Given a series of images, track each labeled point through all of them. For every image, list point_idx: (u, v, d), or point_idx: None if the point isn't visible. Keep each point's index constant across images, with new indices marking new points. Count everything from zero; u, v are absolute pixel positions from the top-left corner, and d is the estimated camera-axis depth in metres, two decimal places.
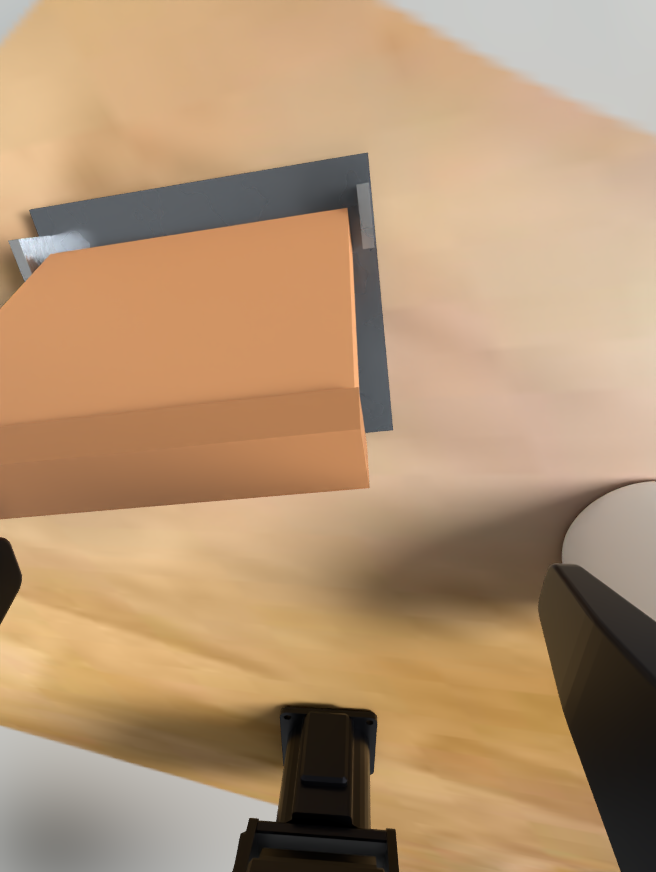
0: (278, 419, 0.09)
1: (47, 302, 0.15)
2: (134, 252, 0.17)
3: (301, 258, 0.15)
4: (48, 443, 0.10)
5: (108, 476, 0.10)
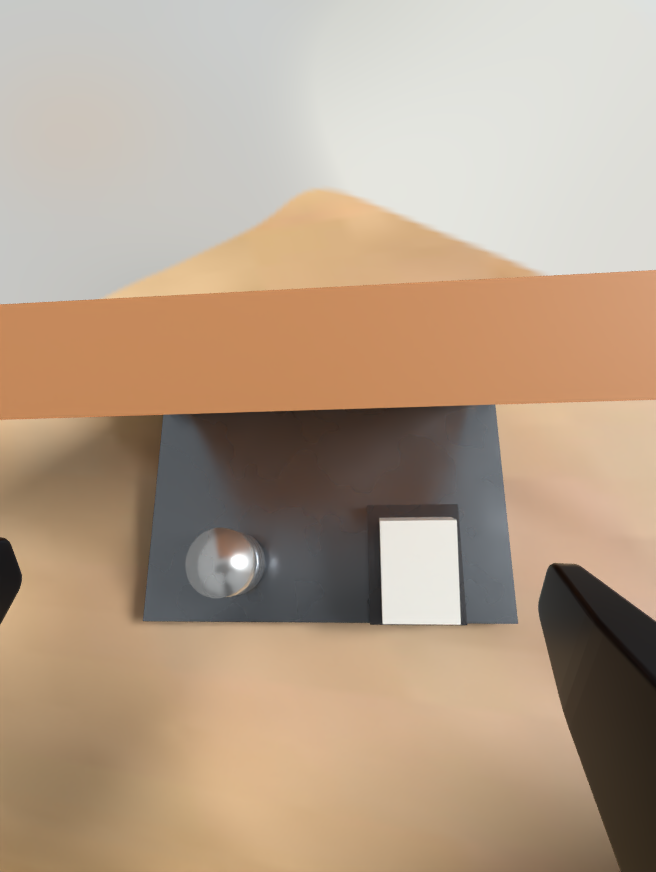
0: None
1: None
2: None
3: None
4: None
5: (279, 334, 0.07)
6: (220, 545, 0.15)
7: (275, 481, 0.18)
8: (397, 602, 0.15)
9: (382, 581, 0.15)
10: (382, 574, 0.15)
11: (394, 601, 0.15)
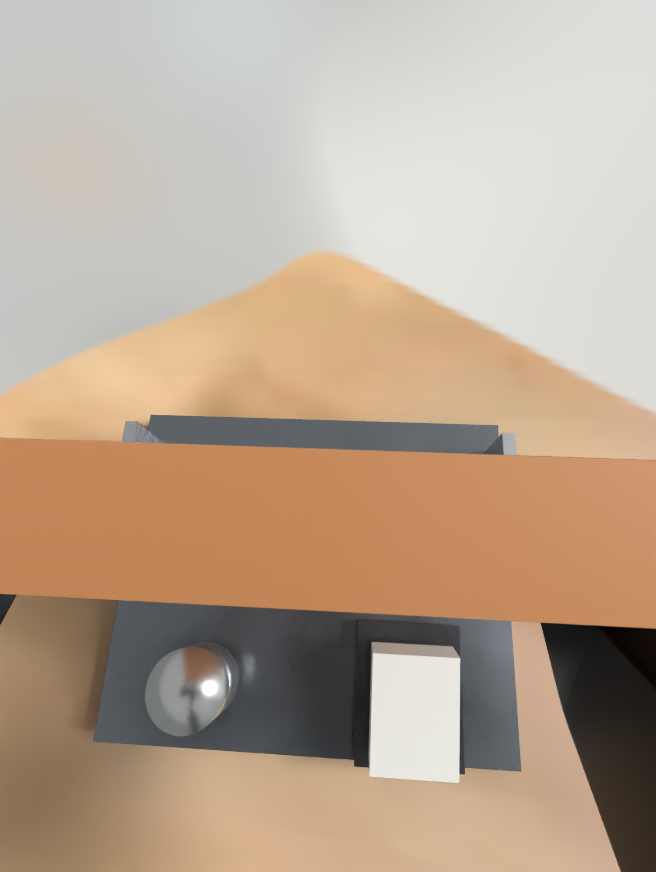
0: (597, 458, 0.06)
1: None
2: None
3: None
4: (188, 444, 0.06)
5: (274, 505, 0.05)
6: (188, 670, 0.13)
7: None
8: (387, 751, 0.13)
9: (372, 725, 0.13)
10: (372, 717, 0.13)
11: (384, 750, 0.13)
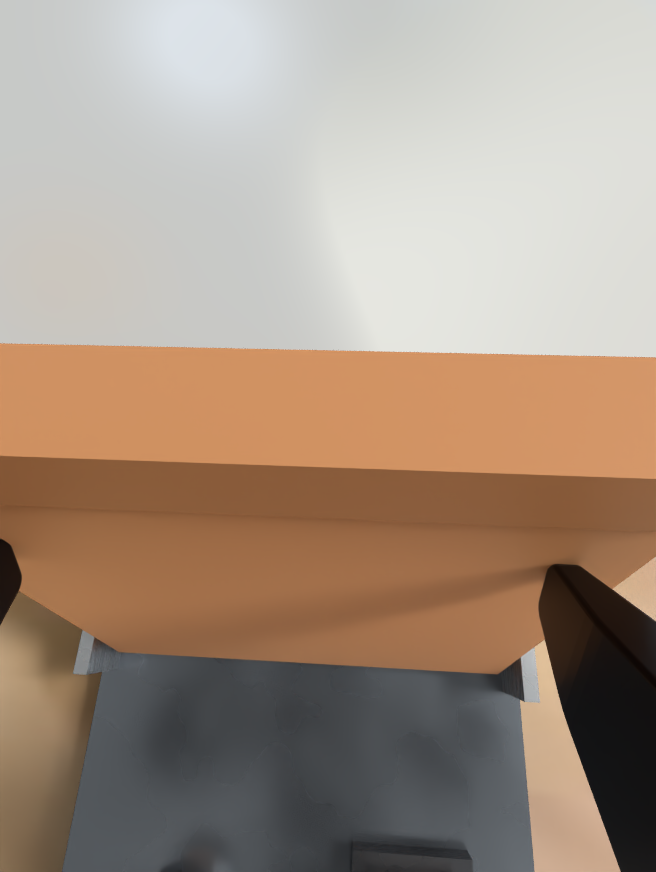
0: None
1: None
2: None
3: None
4: None
5: (285, 386, 0.06)
6: None
7: (235, 788, 0.14)
8: None
9: None
10: None
11: None
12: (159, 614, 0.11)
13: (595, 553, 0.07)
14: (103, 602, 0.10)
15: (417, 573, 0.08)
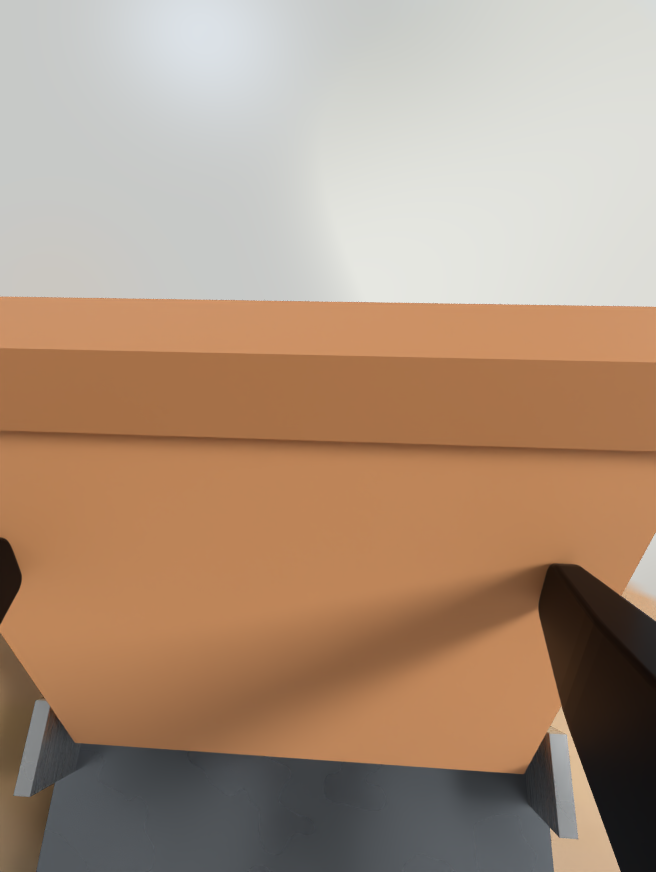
0: None
1: None
2: None
3: None
4: None
5: (294, 316, 0.06)
6: None
7: None
8: None
9: None
10: None
11: None
12: (134, 653, 0.10)
13: (605, 510, 0.07)
14: (74, 631, 0.09)
15: (423, 555, 0.08)
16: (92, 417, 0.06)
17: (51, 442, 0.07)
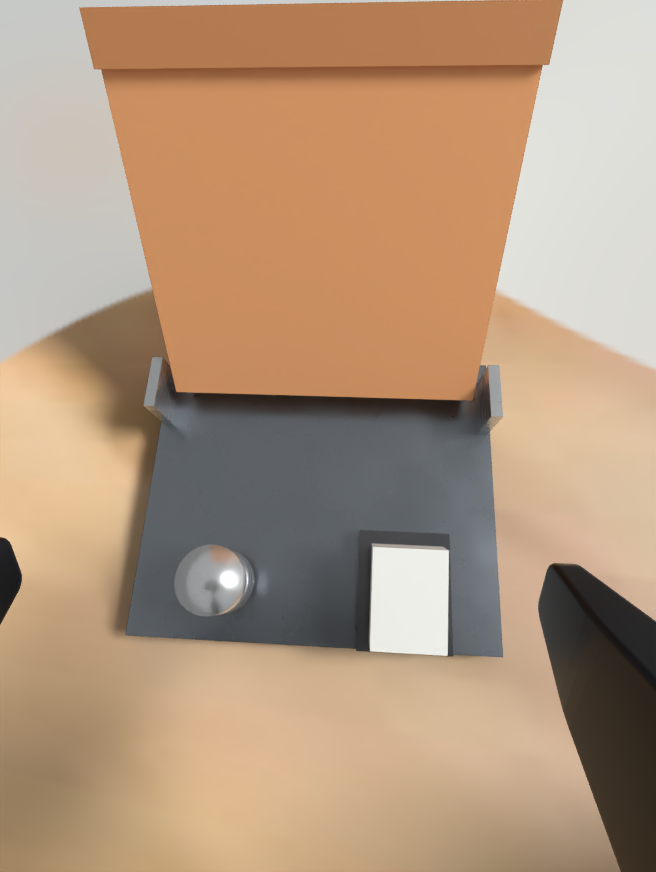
0: None
1: None
2: None
3: None
4: None
5: None
6: (211, 562, 0.15)
7: (269, 500, 0.18)
8: (385, 630, 0.15)
9: (372, 608, 0.15)
10: (372, 600, 0.15)
11: (382, 628, 0.15)
12: (228, 281, 0.16)
13: (498, 122, 0.13)
14: (194, 260, 0.15)
15: (403, 167, 0.14)
16: (232, 55, 0.12)
17: (205, 82, 0.13)
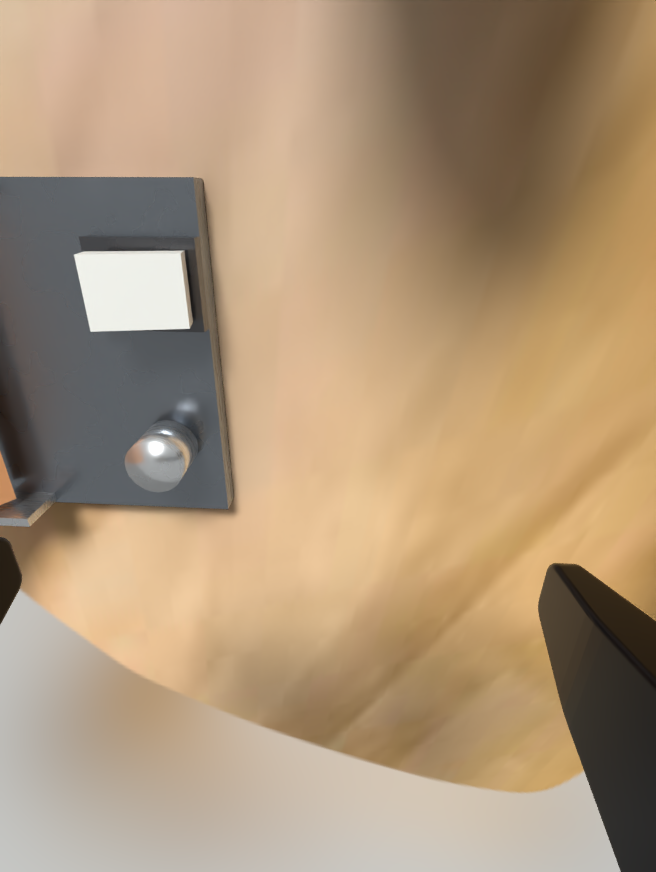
0: None
1: None
2: None
3: None
4: None
5: None
6: (139, 466, 0.18)
7: (98, 409, 0.20)
8: (167, 315, 0.16)
9: (149, 329, 0.16)
10: (142, 329, 0.16)
11: (167, 317, 0.16)
12: None
13: None
14: None
15: None
16: None
17: None
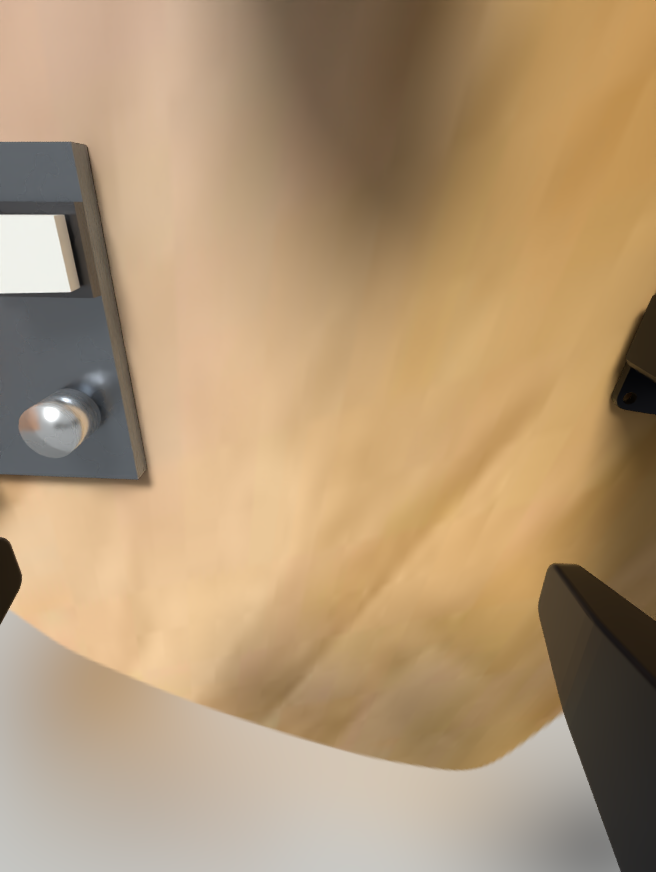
0: None
1: None
2: None
3: None
4: None
5: None
6: (33, 431, 0.18)
7: (1, 378, 0.20)
8: (46, 277, 0.16)
9: (30, 291, 0.16)
10: (23, 291, 0.16)
11: (46, 280, 0.16)
12: None
13: None
14: None
15: None
16: None
17: None
